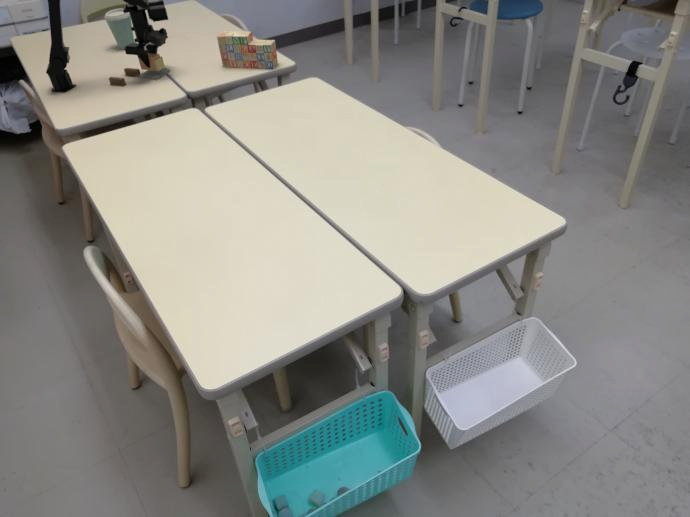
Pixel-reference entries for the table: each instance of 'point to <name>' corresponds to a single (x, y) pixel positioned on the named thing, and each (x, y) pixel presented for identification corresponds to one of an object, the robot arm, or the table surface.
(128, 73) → the rail right
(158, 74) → the mat
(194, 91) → the table surface
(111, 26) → the disposable coffee cup
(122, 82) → the rail left
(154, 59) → the plug block
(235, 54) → the stack of blocks
